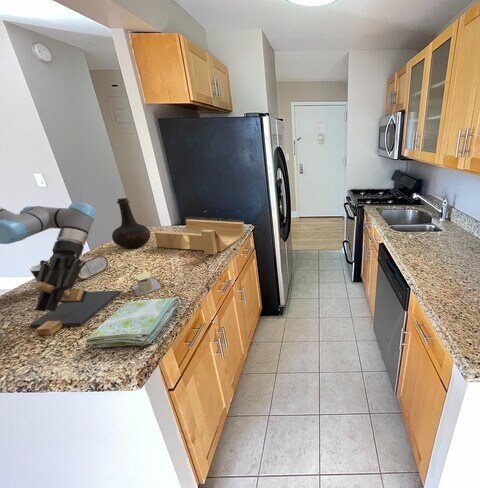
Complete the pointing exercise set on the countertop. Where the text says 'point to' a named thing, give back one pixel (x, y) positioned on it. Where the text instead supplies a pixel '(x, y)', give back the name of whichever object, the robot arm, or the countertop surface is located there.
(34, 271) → the coffee mug
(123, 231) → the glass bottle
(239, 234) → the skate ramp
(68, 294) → the scrub brush
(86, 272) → the tin
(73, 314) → the serving tray
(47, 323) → the wooden square block
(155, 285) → the stacked layers on plate
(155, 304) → the towel
